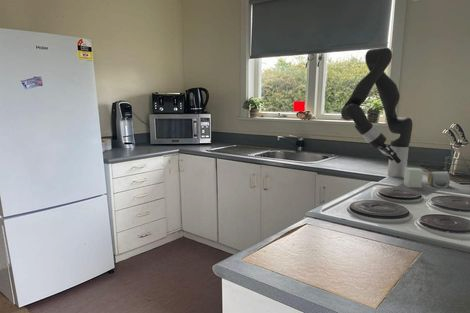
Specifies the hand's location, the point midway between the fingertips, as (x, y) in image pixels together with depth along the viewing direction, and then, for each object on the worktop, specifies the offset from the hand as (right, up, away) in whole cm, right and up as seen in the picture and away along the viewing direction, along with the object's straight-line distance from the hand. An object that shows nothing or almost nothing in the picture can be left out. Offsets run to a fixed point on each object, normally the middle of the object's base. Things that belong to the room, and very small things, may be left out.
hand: (396, 160), depth 160 cm
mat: (+7, -14, -5) cm, 16 cm away
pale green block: (+8, -12, +1) cm, 15 cm away
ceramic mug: (+22, -13, +3) cm, 26 cm away
